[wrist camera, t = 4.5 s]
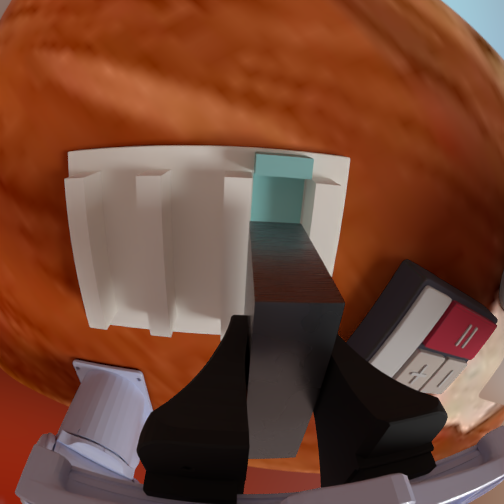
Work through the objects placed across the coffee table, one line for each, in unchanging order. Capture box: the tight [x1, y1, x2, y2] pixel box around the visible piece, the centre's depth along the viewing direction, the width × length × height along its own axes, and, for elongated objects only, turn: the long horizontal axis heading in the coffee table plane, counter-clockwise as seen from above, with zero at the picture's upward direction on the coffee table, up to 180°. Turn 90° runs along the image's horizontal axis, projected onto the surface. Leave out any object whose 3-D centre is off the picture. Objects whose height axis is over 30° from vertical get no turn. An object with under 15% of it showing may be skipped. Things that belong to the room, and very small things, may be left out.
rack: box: [64, 145, 350, 340], centre depth 19 cm, size 14×19×4 cm
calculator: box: [346, 259, 497, 394], centre depth 24 cm, size 11×4×15 cm
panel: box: [244, 221, 345, 459], centre depth 13 cm, size 9×2×7 cm, turn 177°
